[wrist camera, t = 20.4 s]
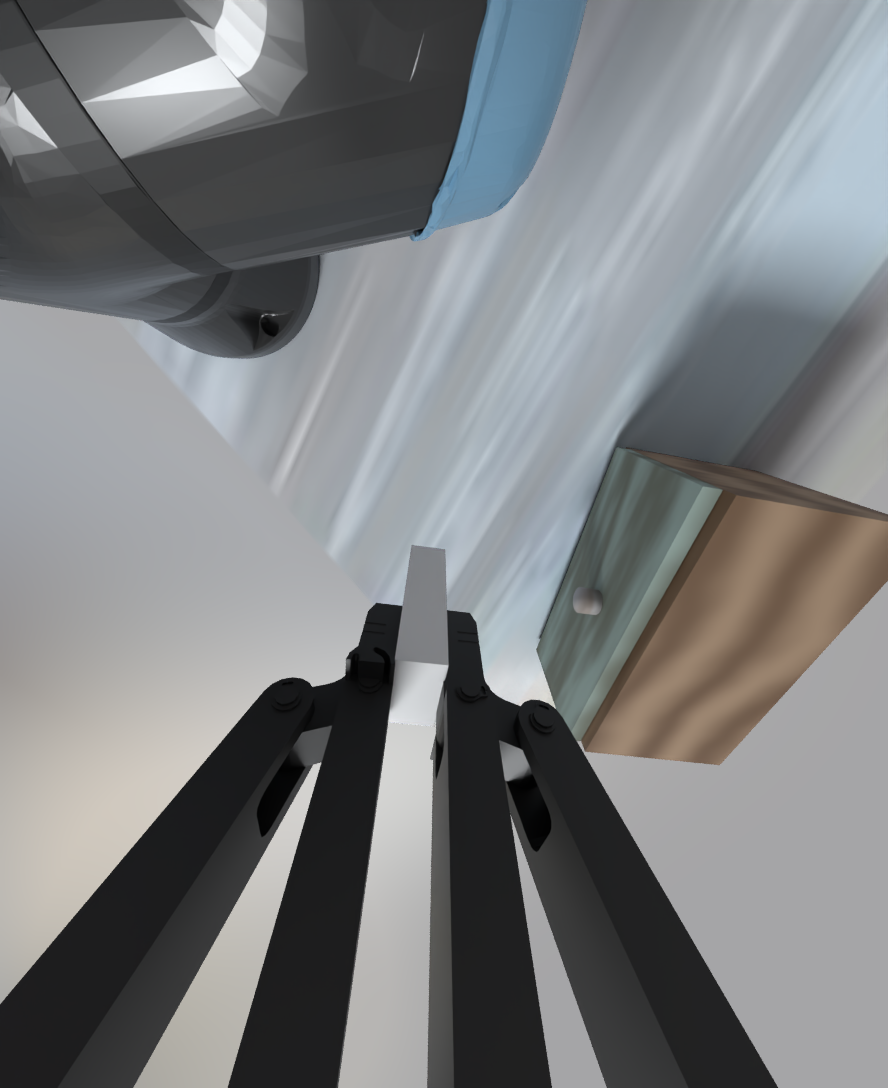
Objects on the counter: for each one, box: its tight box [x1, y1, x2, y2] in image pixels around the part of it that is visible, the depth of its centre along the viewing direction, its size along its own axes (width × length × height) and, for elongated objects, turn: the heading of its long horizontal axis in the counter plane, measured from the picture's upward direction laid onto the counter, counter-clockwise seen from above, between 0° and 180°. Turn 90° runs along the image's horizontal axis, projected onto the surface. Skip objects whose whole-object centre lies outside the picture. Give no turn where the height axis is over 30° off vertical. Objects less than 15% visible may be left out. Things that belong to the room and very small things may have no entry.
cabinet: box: [581, 447, 888, 765], centre depth 34 cm, size 14×26×14 cm, turn 170°
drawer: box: [536, 447, 723, 741], centre depth 33 cm, size 16×26×12 cm, turn 170°
